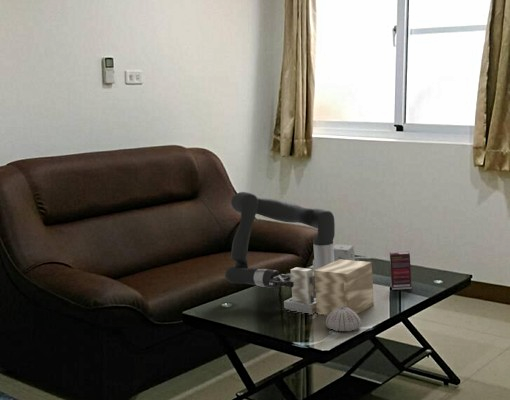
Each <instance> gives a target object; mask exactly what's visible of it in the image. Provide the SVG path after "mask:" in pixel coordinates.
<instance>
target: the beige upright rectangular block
mask: <svg viewBox="0 0 510 400" xmlns="http://www.w3.org/2000/svg"><path fill="white" fill-rule="evenodd" d="M290 273H291V281H292V282H293V283H294V286H293V287H291V298H292V300H293V302H300V303H307V304H311V303H313V302H314V298H313V290H314V284H313V283H312V276H313V275H314V274H313V268H305V267H297V266H296V267H294V268H291V269H290Z"/></svg>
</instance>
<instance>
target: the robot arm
mask: <svg viewBox="0 0 510 400" xmlns="http://www.w3.org/2000/svg"><path fill="white" fill-rule="evenodd" d="M230 200H231V203H230V204H231V206H232V209H233V210H234V211H235V212H237V213H240V222H239V226H238V228H237V230H236V231H235V235H234V237H233V240H232V243H231V244H232V245H231V251H230V259H231V260H232V261H234V263H235V265H234V266H230V267H227V269H226V270H225V273H224V278H225V280H226V281H227V282H229V283H232V284H247V285H252V286H259V287H264V288H269V289H271V288H272V289H276V288H278V289H281V288H282V287H283V288H285V287H287V288H292V287H293V286H294V283H293V282H292V281H291V272H286V274H285V273H280V271H278V270H276V269H269V268H255V267H253V268H252V267H251V268H249V265H248V259H247V258H248V250H249V243H250V237H251V233H252V229H253V227H254V221H255V218H256V215H259V216H262V217H266V218H268V219H271V220H274V221H278V222H279V221H280V222H283V223H294V224H295V223H297V224H298V223H300V224H303V225H307V226H309V227H312V228H314V229H317V236H314V237H313V239H312V240H313V243H312V245H313V256H314V257H313V258H314V259H313V260H312V274H313V275H314V270H316V269H319V268H321V267H323V266H326V265H328V264H330V263H332V262H334V246H335V245H334V239H335V233H336V232H335V231H336V230H335V229H336V228H335V226H336V225H335V216H334V213H333V212H332V211H330V210H328V209H323V208H310V207H303V206H301V205H298V204H296V203H293V202H291V201H287V200H283V199H282V200H281V199H275V198H274V199H273V198H263V197H262V198H261V197H258V196H256V194H254V193H251V192H245V191H241V192H236V193H235V194H234V195H233V196H232V197H231V199H230Z"/></svg>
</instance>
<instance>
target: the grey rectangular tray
mask: <svg viewBox="0 0 510 400" xmlns="http://www.w3.org/2000/svg"><path fill="white" fill-rule="evenodd" d="M283 307H284V308H286V309H289V310H291V311H297V312H302V313H301V314H304V313H309V314H308V315H311V314H312V315H314V314H316V313H317V308H316V298H314V302H313V303H311V304H307V303H300V302H293V300H292V297H290V298H288V299H286V300H284V301H283ZM297 312H296V313H297ZM315 312H316V313H315ZM313 313H314V314H313Z"/></svg>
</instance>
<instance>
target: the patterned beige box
mask: <svg viewBox="0 0 510 400" xmlns="http://www.w3.org/2000/svg"><path fill="white" fill-rule="evenodd" d="M372 264H373V263H372V261H364V260H363V261H361V260H355V261H353V260H343V259H339V260H337V261H335V262H332V263H330V264H328V265H326V266H323V267H321V268H319V269H316V270H314V274H313V276H312V283H313V285H314V287H315V289H313V298H316V308H317V312H316V314H317V313H318V314H317V315H321V314H324V315H323V316H328V315H329V314H330V313H331V312H332V311H334V309H336V308H338V307H348V308H350V309H351V310H353V311H354V312H355V313H356V314H357V315H358V314H361V313H362V312H364V311H365V310H367V309H370V307H373V306H374V303H375V302H374V284H373V283H374V282H373V265H372Z"/></svg>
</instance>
